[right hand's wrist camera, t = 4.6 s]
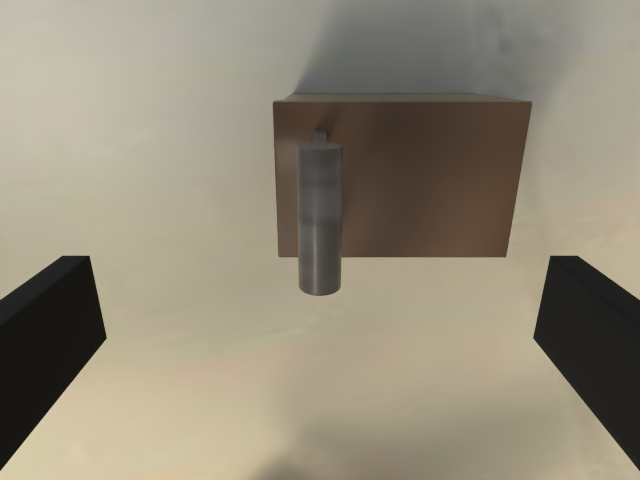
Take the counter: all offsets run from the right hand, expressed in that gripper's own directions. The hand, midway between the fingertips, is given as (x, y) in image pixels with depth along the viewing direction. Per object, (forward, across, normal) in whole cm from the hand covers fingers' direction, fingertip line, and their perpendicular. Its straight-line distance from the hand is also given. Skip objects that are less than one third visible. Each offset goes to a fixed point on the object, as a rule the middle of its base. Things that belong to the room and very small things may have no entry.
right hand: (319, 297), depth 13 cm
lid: (+15, -5, 0) cm, 16 cm away
